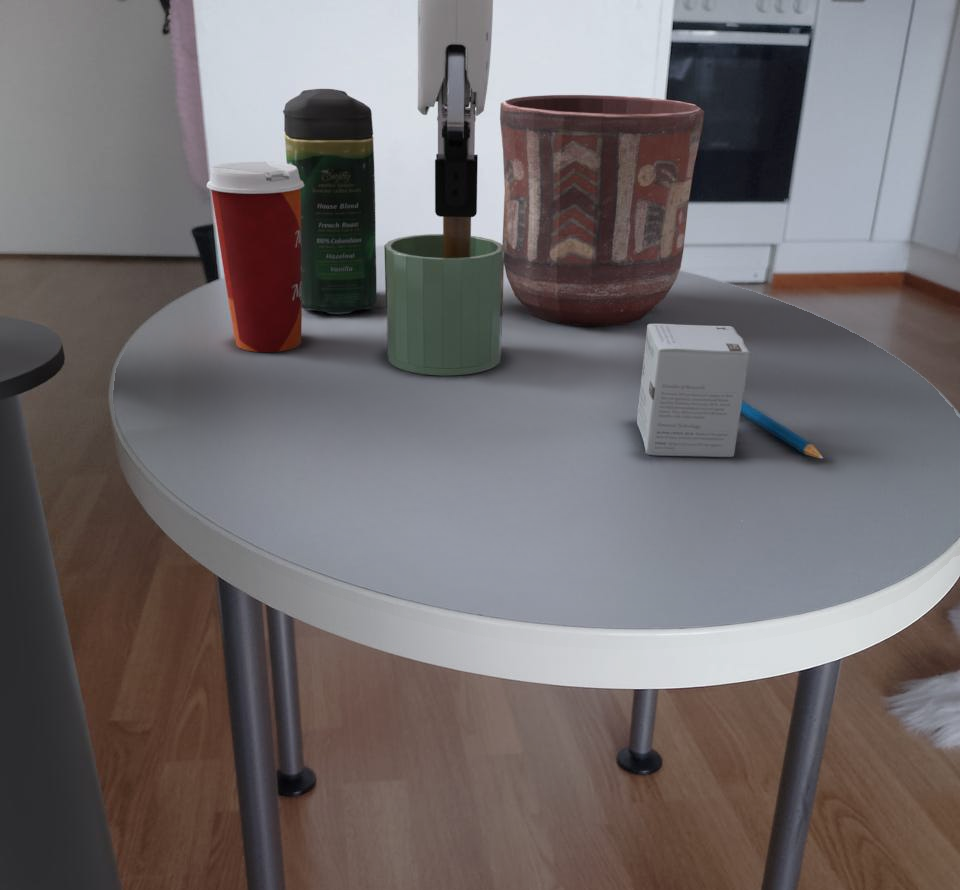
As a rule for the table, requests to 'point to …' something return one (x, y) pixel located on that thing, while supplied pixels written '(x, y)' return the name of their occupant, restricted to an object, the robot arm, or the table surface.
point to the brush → (457, 236)
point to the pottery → (595, 203)
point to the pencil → (779, 430)
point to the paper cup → (260, 251)
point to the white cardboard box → (691, 390)
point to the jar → (443, 306)
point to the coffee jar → (334, 198)
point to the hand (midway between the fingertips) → (456, 210)
